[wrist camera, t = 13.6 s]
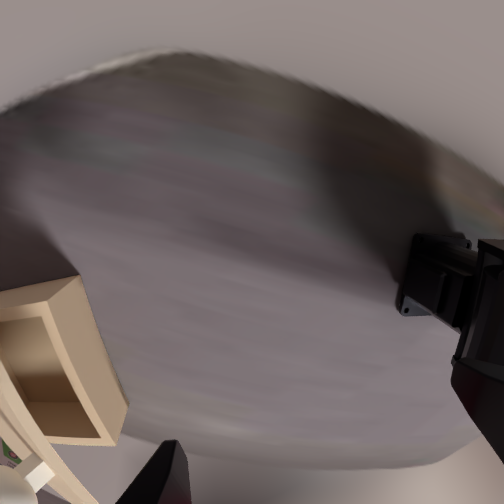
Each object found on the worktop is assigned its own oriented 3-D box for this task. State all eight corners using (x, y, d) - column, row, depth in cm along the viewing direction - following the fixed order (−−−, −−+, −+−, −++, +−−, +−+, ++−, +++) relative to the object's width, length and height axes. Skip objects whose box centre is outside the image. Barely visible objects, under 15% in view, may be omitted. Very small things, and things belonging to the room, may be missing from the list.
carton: (80, 274, 19) (47, 300, 14) (129, 403, 22) (116, 445, 17) (-20, 295, 18) (-55, 318, 13) (30, 404, 21) (8, 437, 16)
